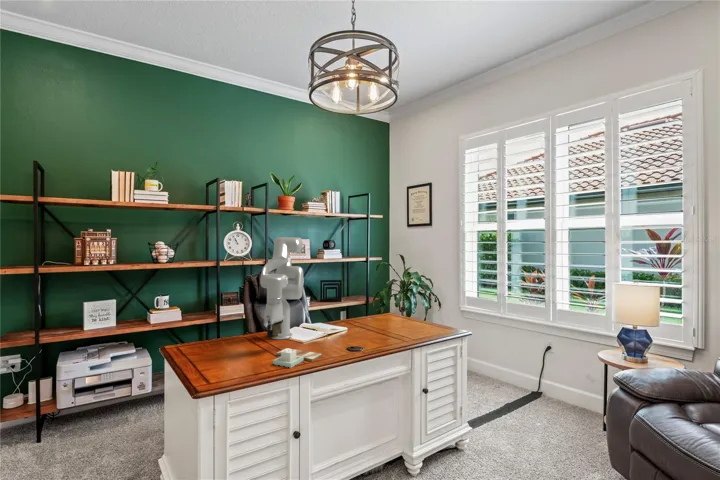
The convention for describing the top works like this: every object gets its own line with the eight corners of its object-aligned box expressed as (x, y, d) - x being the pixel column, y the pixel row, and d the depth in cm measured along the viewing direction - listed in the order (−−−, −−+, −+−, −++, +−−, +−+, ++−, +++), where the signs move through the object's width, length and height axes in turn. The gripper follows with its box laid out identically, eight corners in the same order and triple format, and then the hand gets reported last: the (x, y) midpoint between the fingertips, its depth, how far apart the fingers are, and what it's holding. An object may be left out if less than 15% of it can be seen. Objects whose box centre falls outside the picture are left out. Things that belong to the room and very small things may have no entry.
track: (276, 355, 183) (276, 352, 183) (287, 350, 192) (287, 347, 192) (312, 361, 175) (312, 359, 175) (322, 356, 183) (322, 353, 183)
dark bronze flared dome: (268, 334, 194) (268, 319, 194) (282, 334, 195) (282, 319, 194) (265, 339, 187) (265, 324, 186) (280, 339, 188) (280, 324, 187)
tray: (273, 364, 170) (273, 360, 170) (286, 358, 179) (286, 354, 179) (291, 368, 166) (291, 363, 166) (303, 361, 175) (303, 357, 175)
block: (281, 362, 171) (281, 351, 171) (287, 359, 176) (287, 348, 176) (290, 364, 169) (290, 352, 169) (296, 360, 174) (296, 349, 174)
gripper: (278, 296, 199) (278, 329, 200) (257, 303, 183) (257, 338, 185) (290, 298, 196) (290, 331, 197) (269, 305, 180) (269, 341, 182)
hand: (274, 334), depth 191 cm, fingers closed on dark bronze flared dome, 6 cm apart
